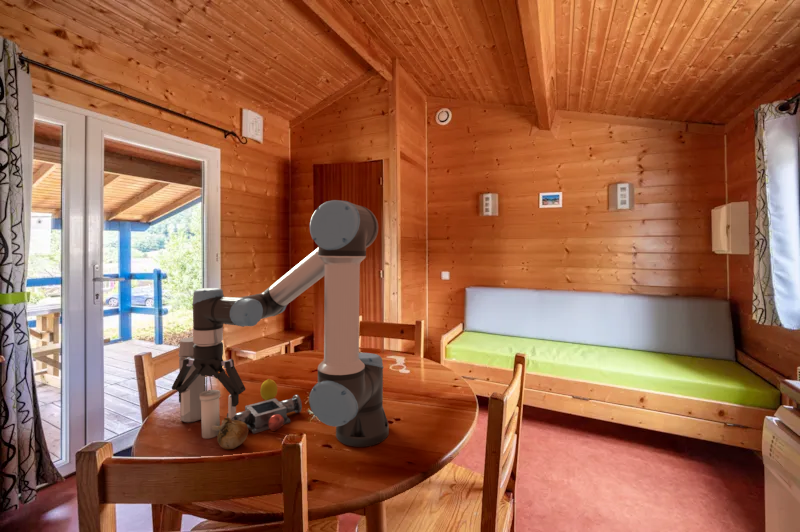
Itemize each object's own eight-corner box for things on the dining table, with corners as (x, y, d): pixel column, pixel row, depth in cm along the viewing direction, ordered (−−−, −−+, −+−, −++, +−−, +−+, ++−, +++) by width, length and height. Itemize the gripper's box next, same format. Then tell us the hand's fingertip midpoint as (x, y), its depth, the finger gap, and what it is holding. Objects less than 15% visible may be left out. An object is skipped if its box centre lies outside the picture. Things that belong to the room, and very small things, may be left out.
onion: (235, 456, 93) (234, 425, 93) (209, 451, 96) (209, 421, 95) (254, 441, 101) (254, 413, 100) (230, 437, 103) (229, 409, 102)
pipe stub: (223, 435, 104) (222, 393, 103) (202, 441, 101) (201, 398, 100) (218, 428, 108) (217, 388, 108) (198, 433, 105) (197, 392, 104)
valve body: (310, 421, 112) (309, 403, 112) (238, 444, 99) (238, 424, 99) (291, 406, 123) (291, 389, 123) (224, 424, 110) (224, 406, 110)
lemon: (271, 405, 124) (271, 382, 123) (257, 404, 125) (256, 381, 124) (280, 399, 129) (280, 376, 129) (266, 397, 130) (265, 375, 130)
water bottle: (176, 425, 109) (174, 343, 108) (184, 414, 117) (182, 337, 116) (210, 421, 112) (208, 341, 111) (215, 410, 120) (214, 335, 118)
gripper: (257, 341, 106) (257, 412, 107) (176, 337, 108) (176, 406, 109) (244, 348, 98) (244, 424, 99) (156, 344, 101) (157, 418, 102)
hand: (208, 416), depth 104 cm, fingers open, 13 cm apart
